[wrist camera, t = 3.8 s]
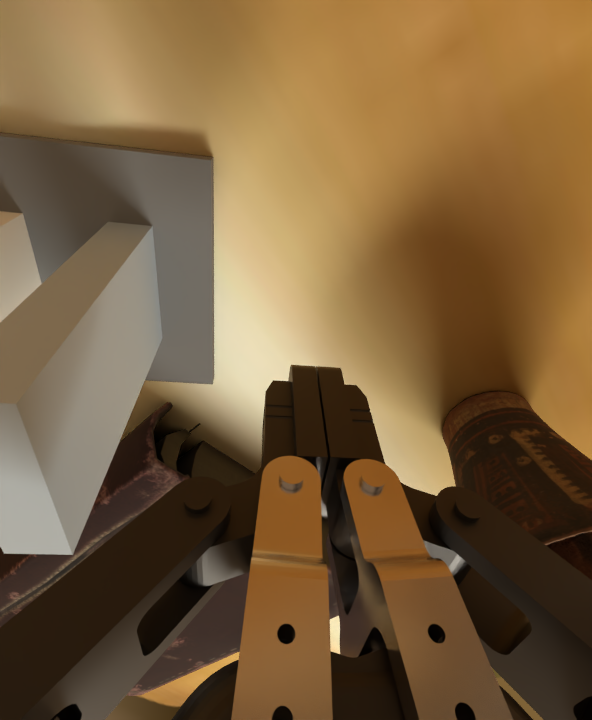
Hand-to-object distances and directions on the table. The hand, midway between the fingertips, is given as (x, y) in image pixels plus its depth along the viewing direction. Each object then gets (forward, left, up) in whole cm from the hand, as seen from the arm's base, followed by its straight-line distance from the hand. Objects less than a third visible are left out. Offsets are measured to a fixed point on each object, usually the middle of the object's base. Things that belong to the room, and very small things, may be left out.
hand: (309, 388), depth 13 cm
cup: (+7, +11, -7) cm, 15 cm away
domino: (0, -7, -6) cm, 9 cm away
